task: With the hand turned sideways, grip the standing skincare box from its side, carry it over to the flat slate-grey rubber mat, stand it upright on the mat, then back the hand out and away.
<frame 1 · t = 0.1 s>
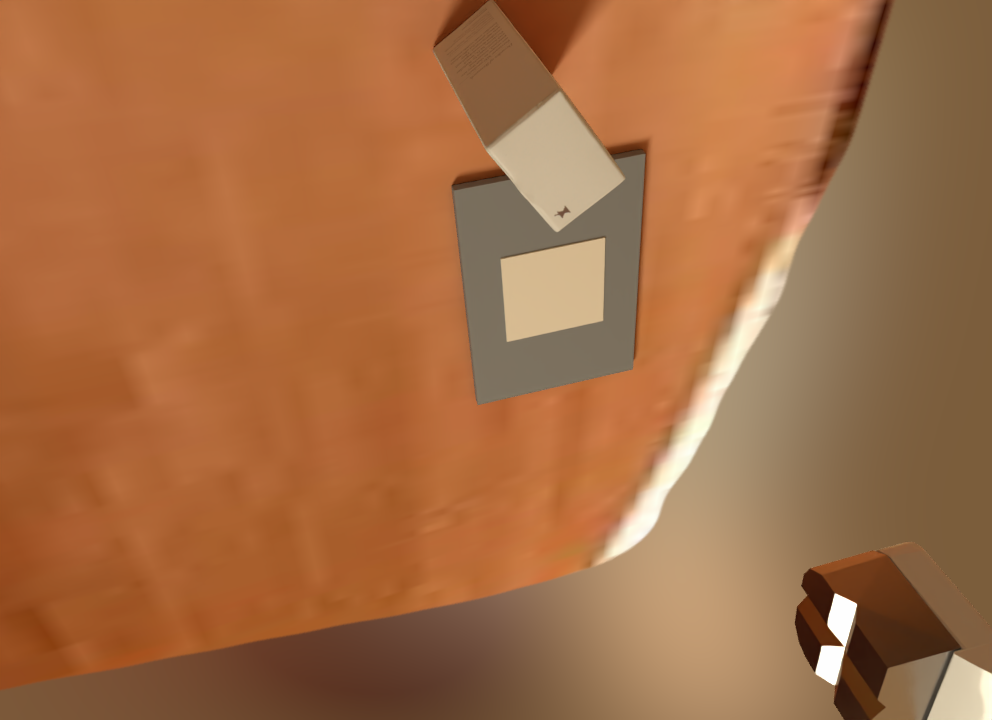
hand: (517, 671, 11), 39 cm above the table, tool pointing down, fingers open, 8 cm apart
skincare box: (491, 61, 47), on the table
rubber mat: (551, 285, 58), on the table
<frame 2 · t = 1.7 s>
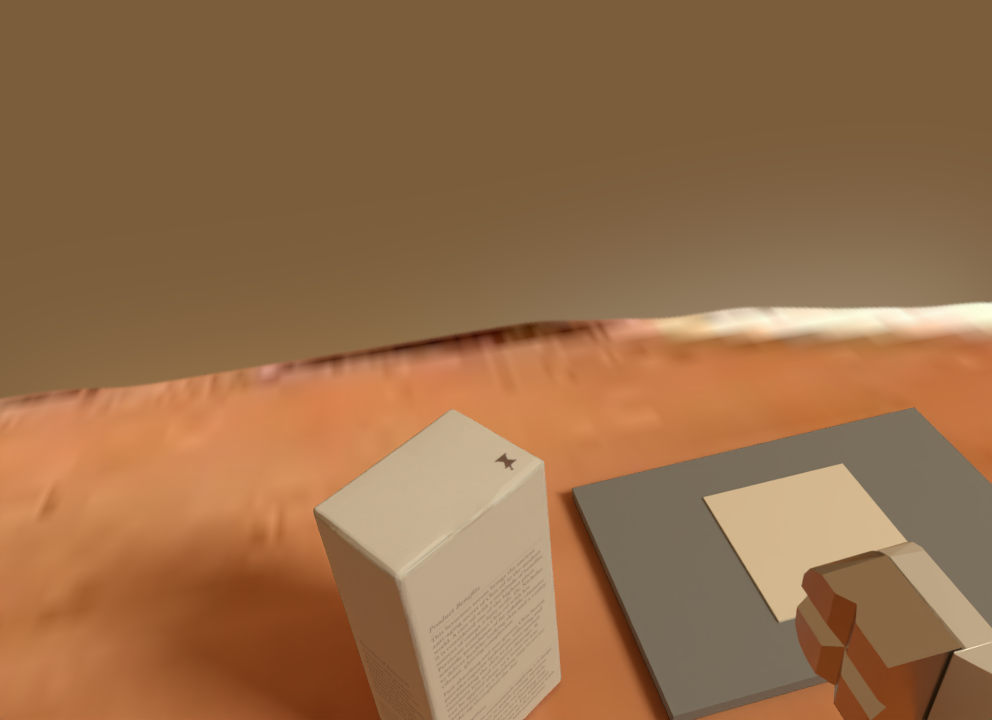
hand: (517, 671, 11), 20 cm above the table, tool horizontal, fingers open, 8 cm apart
skincare box: (470, 706, 33), on the table
rubber mat: (811, 546, 37), on the table
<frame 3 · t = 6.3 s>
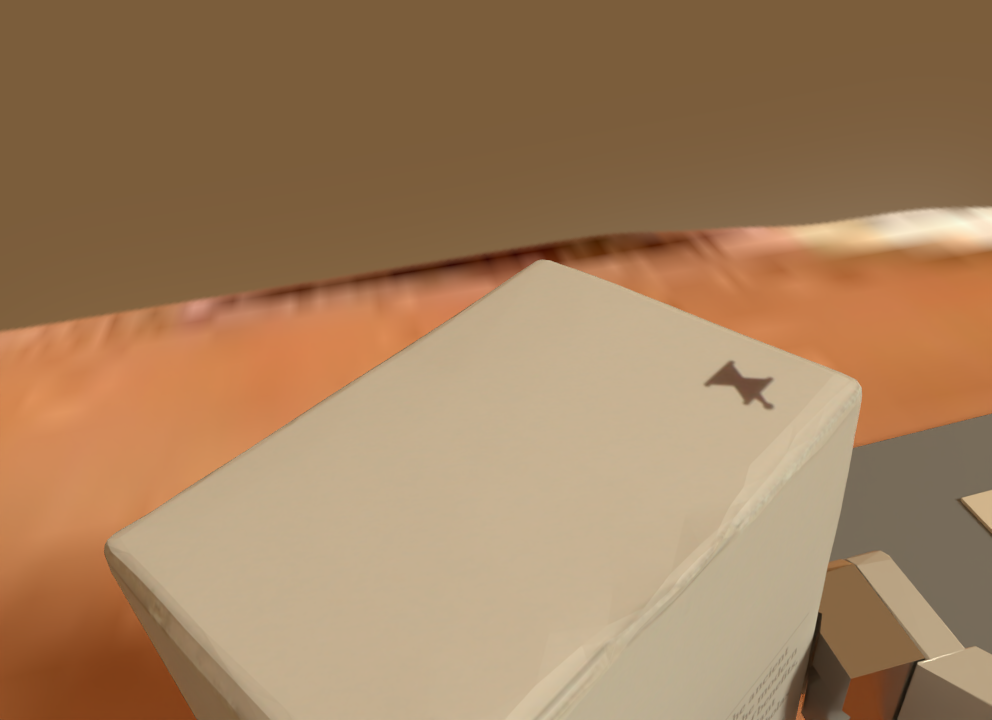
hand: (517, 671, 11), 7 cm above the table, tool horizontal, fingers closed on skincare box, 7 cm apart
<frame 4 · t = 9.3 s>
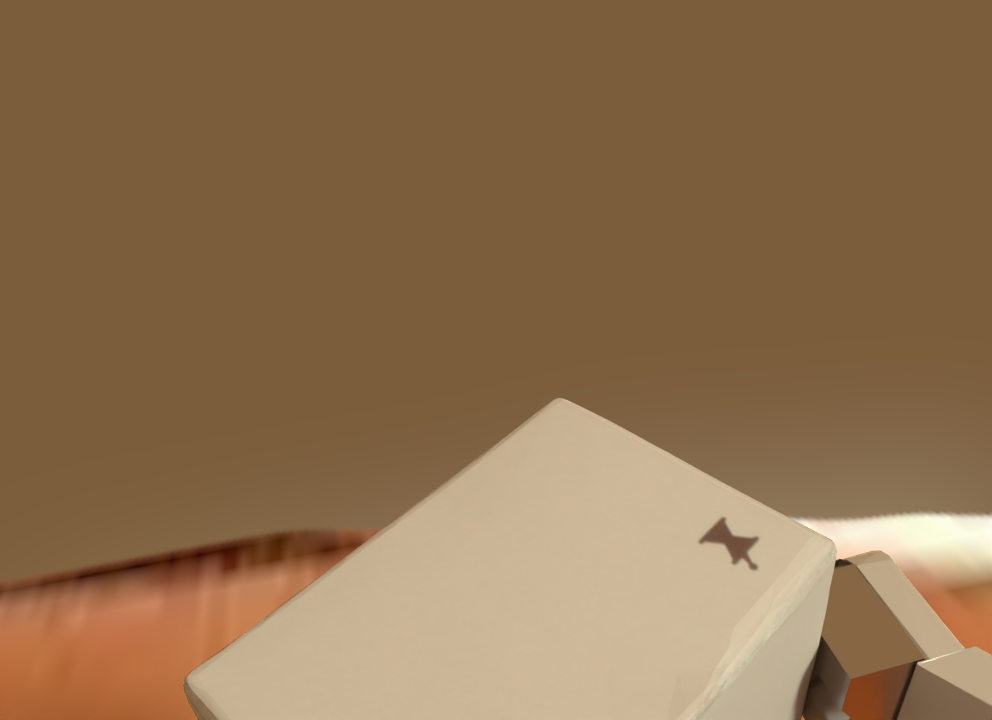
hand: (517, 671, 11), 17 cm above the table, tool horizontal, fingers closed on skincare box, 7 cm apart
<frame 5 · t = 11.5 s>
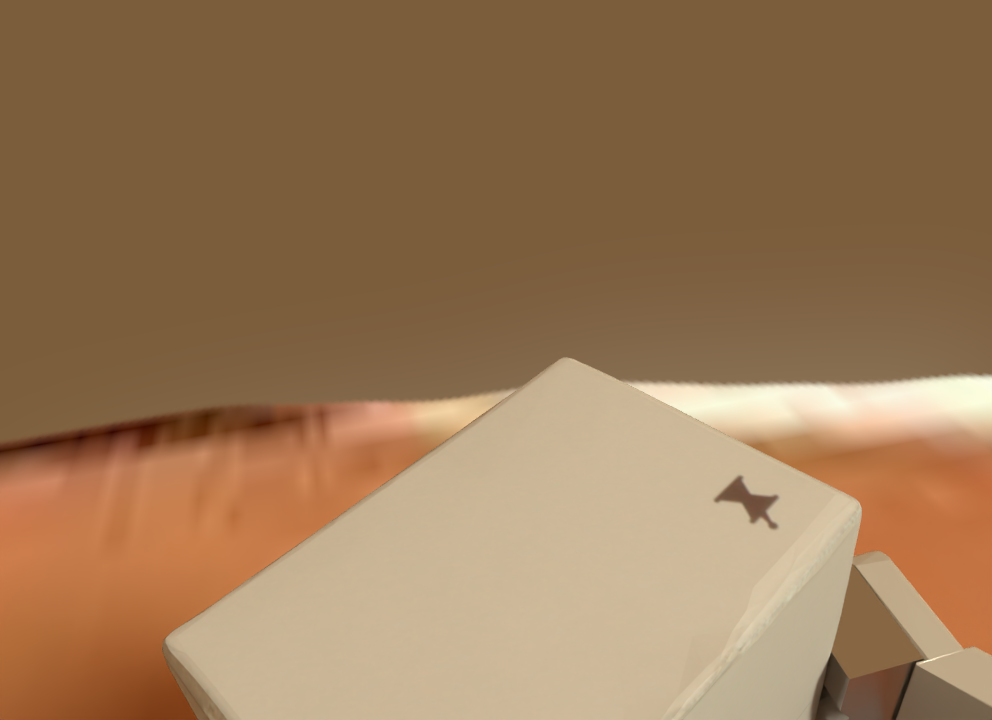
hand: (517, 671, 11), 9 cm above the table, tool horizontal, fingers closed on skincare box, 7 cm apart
when the fingers open (9 cm above the table, at t = 12.0 s): skincare box stays where it is, resting on rubber mat.
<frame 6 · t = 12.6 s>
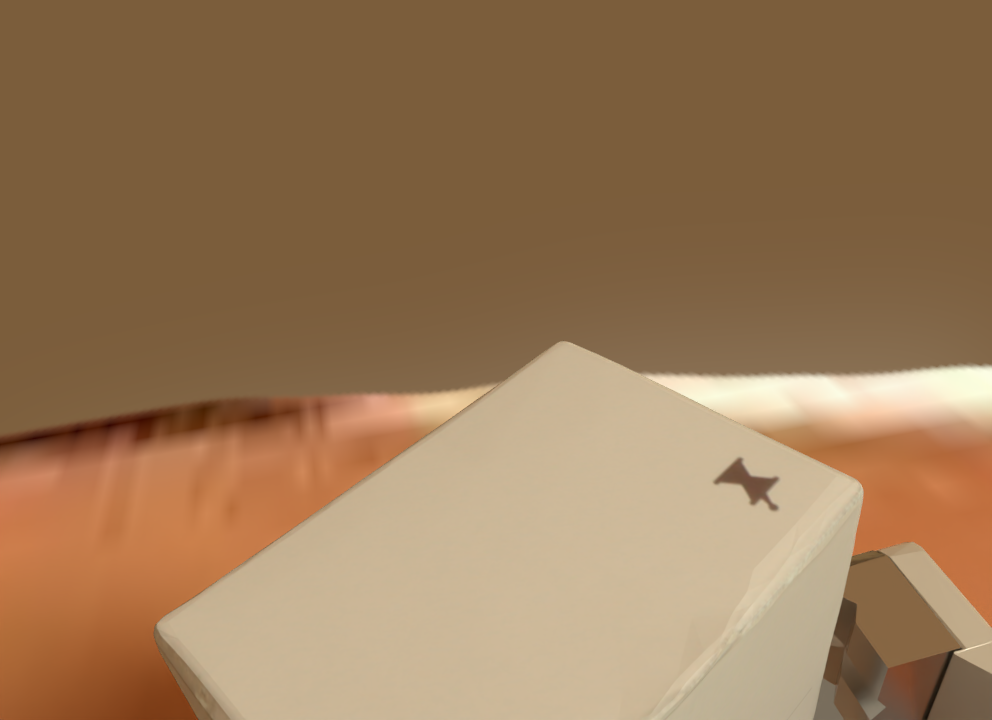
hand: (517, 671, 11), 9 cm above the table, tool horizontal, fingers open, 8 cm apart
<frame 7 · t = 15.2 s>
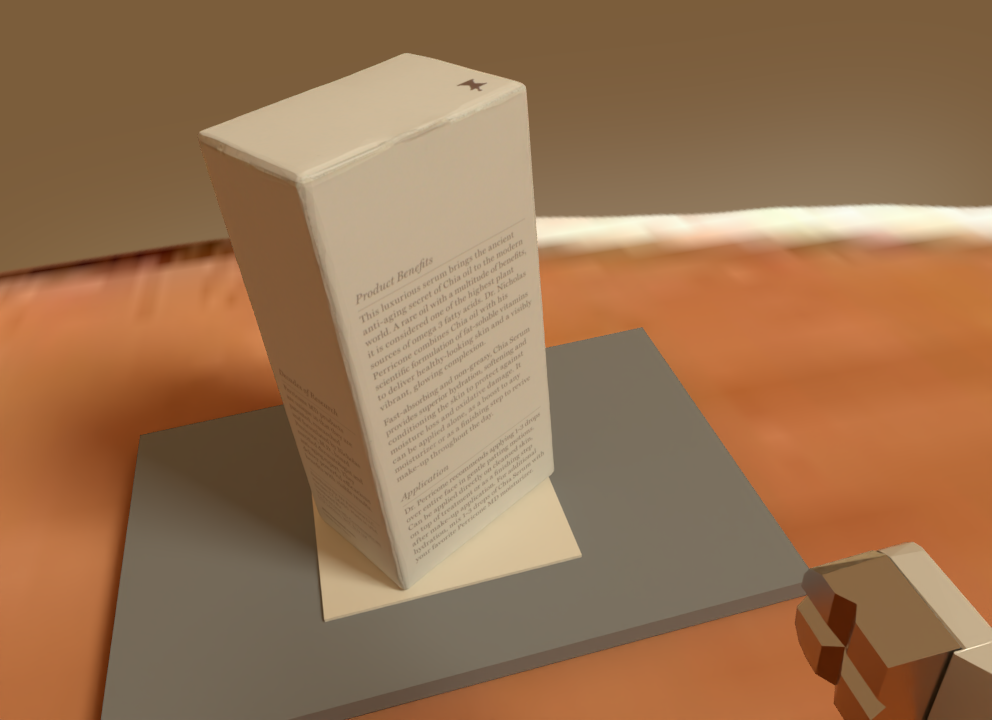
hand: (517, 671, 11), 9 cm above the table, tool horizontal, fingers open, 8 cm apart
skincare box: (436, 502, 25), resting on rubber mat
rubber mat: (435, 511, 26), on the table
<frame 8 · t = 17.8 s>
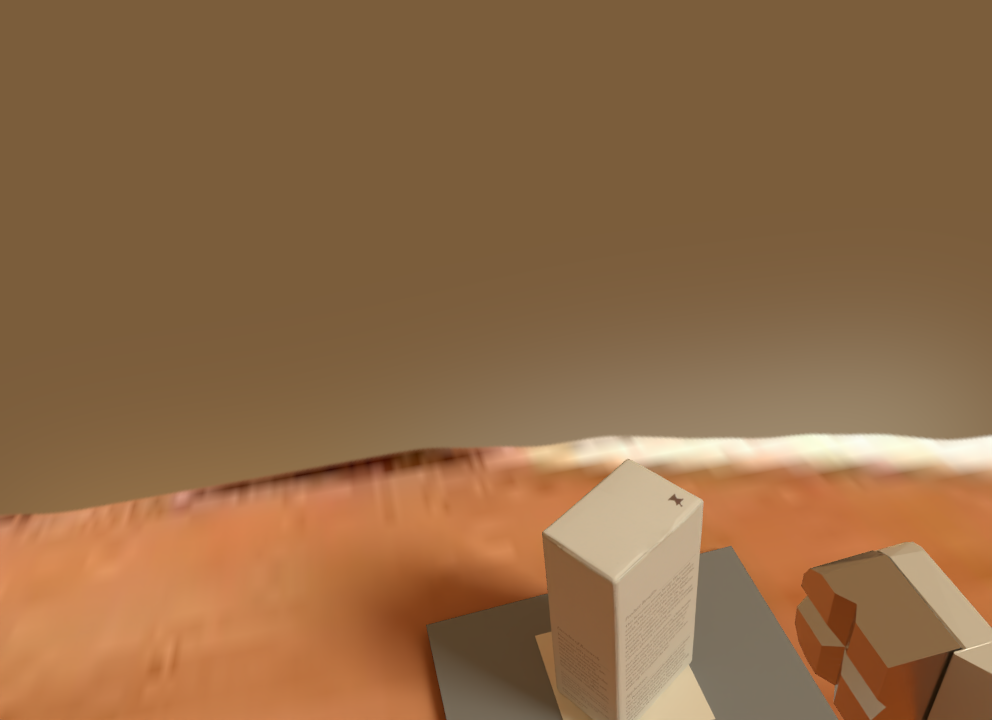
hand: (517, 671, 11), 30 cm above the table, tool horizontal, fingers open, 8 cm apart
skincare box: (622, 679, 43), resting on rubber mat
rubber mat: (620, 682, 44), on the table
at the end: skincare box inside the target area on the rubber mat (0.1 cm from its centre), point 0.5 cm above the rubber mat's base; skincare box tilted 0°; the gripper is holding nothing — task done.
